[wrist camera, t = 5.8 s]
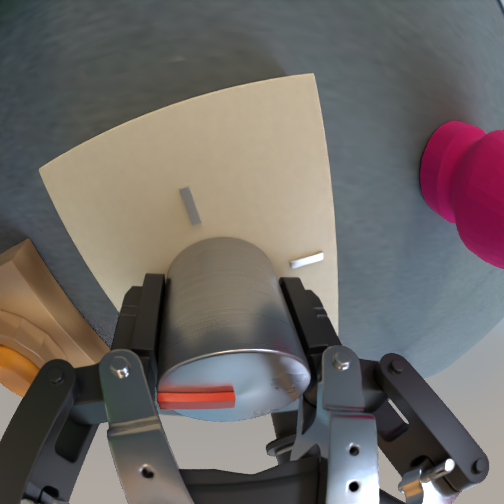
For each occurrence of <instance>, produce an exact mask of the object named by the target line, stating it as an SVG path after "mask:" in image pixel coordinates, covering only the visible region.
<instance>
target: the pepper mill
mask: <svg viewBox="0 0 504 504" xmlns="http://www.w3.org/2000/svg"><path fill="white" fill-rule="evenodd" d="M420 184H421V190H422V194H423V197H424V199H425V201H426V203H427V204H428V205H429V207H430V208H431V209H432V210H434V211H435V212H436V213H438V214H439V215H440V216H442V217H443V218H444V219H446V220H447V221H449V222H451V223H456V226H457V230H458V232H459V235H460V238H461V240H462V241H463V243H464V244H465V246H466V247H467V248H468V249H469V250H470V251H471V252H473V253H474V254H476V255H477V256H478V257H480V258H481V259H482V260H484V261H485V262H487V263H490V264H492V265H494V266H496V267H499V268H502V269H504V130H496V131H492V132H490V133H488V134H486V133H485V132H484V131H483V130H481V129H480V128H478V127H475V126H472V125H470V124H467V123H464V122H460V121H450V122H447V123H445V124H443V125H442V126H440V127H439V128H438V129H437V130H436V131H435V132H434V133H433V135H432V137H431V138H430V140H429V141H428V143H427V146H426V149H425V151H424V154H423V156H422V162H421V168H420Z"/></svg>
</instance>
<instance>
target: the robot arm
mask: <svg viewBox="0 0 504 504" xmlns="http://www.w3.org/2000/svg"><path fill="white" fill-rule="evenodd" d="M278 282H279V284H280V287H281V290H282V293H283V295H284V298H285V301H286V304H287V306H288V309H289V312H290V315H291V317H292V320H293V323H294V326H295V329H296V331H297V334H298V337H299V340H300V343H301V345H302V348H303V351H304V354H305V357H306V359H307V362H308V365H309V368H310V371H311V379H310V383H309V385H308V387H307V389H306V390H305V392H304V393H303V394H302V395H301V396H300V397H299V410H298V423H297V434H296V440H295V442H294V443H291V444H288V445H286V446H283V447H281V448H279V449H278V450H276V451H275V455H276V458H277V461H278V465H277V466H275V467H272V468H270V469H267V470H264V471H262V472H259V473H256V474H243V473H235V472H228V471H222V470H217V469H180V468H179V466H178V464H177V462H176V460H175V457H174V454H173V452H172V450H171V447H170V445H169V442H168V440H167V437H166V435H165V432H164V429H163V426H162V423H161V421H160V418H159V415H158V412H157V409H156V406H155V403H154V401H155V387H157V369H158V354H159V342H160V331H161V320H162V311H163V302H164V294H165V286H166V283H165V274H156V273H146V274H145V277H144V281H143V286H132V287H131V288H130V289H129V290H128V291H127V292H126V294H125V295H124V299H123V302H122V307H121V310H120V316H119V317H118V321H117V325H116V329H115V334H114V338H113V342H112V347H111V350H110V351H109V352H108V353H106V354H105V355H104V356H103V357H102V359H101V360H100V362H99V363H96V364H94V365H89V366H83V367H77V368H74V367H73V366H72V365H71V364H70V363H69V362H68V361H66V360H63V359H53V360H50V361H48V362H47V363H45V364H44V365H43V366H42V368H41V369H40V371H39V372H38V374H37V375H36V377H35V379H34V380H33V382H32V384H31V385H30V387H29V389H28V390H27V392H26V394H25V395H24V397H23V399H22V401H21V402H20V404H19V406H18V408H17V410H16V412H15V414H14V415H13V417H12V419H11V421H10V423H9V425H8V427H7V429H6V431H5V433H4V435H3V437H2V439H1V441H0V504H69V503H68V502H69V499H70V496H71V494H72V491H73V488H74V485H75V483H76V480H77V477H78V475H79V472H80V470H81V467H82V465H83V462H84V460H85V457H86V454H87V452H88V450H89V447H90V445H91V443H92V440H93V438H94V436H95V433H96V431H97V429H98V426H99V424H100V423H104V422H108V423H109V429H108V430H107V438H108V443H109V447H110V450H111V454H112V458H113V461H114V464H115V468H116V471H117V474H118V477H119V480H120V483H121V486H122V489H123V491H124V494H125V497H126V499H127V502H128V504H452V502H453V501H454V500H455V499H456V497H457V496H458V495H459V493H460V492H462V491H463V490H466V489H468V488H470V487H472V486H474V485H477V484H478V483H480V482H482V481H483V480H484V479H485V478H486V476H487V474H488V471H489V461H488V458H487V456H486V454H485V453H484V452H483V450H482V449H481V448H480V447H479V445H478V444H477V443H476V442H475V440H474V439H473V438H472V437H471V435H470V434H469V433H468V431H467V430H466V429H465V428H464V427H463V425H462V424H461V423H460V422H459V421H458V419H457V418H456V417H455V416H454V414H453V413H452V412H451V411H450V410H449V408H448V407H447V406H446V405H445V404H444V403H443V401H442V400H441V399H440V398H439V397H438V395H437V394H436V393H435V392H434V391H433V390H432V389H431V387H430V386H429V385H428V384H427V383H426V382H425V380H424V379H423V378H422V377H421V376H420V375H419V374H418V372H417V371H416V370H415V369H414V368H413V367H412V366H411V365H410V363H409V362H408V361H407V360H406V359H405V358H404V357H402V356H400V355H398V354H395V353H389V354H386V355H384V356H383V357H382V358H381V360H380V361H379V362H378V361H371V360H363V359H359V358H358V356H357V355H356V354H355V353H354V352H353V351H352V350H351V349H349V348H347V347H345V346H342V344H341V342H340V340H339V338H338V336H337V334H336V332H335V329H334V327H333V325H332V323H331V321H330V319H329V317H328V315H327V313H326V310H325V309H324V306H323V304H322V302H321V300H320V298H319V297H318V296H317V295H316V294H315V293H314V292H313V291H312V290H305V288H304V286H303V284H302V282H301V279H300V278H299V277H280V279H279V281H278ZM390 399H391V400H392V402H393V403H394V404H395V405H396V407H397V408H398V409H399V410H400V411H401V413H402V414H403V415H404V416H405V418H406V419H407V420H408V422H409V424H407V423H405V422H404V421H403V420H402V418H401V417H400V416H399V415H398V413H397V412H396V411H395V410H394V408H393V407H392V406H391V405H390V403H389V402H388V401H389V400H390ZM378 446H379V448H380V449H381V450H382V452H383V453H384V454H385V456H386V457H387V458H388V459H389V461H390V462H391V464H392V465H393V466H394V467H395V469H396V470H397V471H398V473H399V474H400V475H401V477H402V481H401V482H400V483H399V485H398V490H399V491H400V492H402V493H405V496H406V503H405V502H403V501H401V500H399V499H397V498H395V497H393V496H392V495H390V494H388V493H386V492H385V491H383V490H381V489H380V488H379V464H378Z"/></svg>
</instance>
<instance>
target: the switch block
mask: <svg viewBox="0 0 504 504" xmlns="http://www.w3.org/2000/svg"><path fill="white" fill-rule="evenodd" d="M0 344H2V345H4V346H7V347H9V348H12V349H15V350H16V351H18V352H19V353H21V354H22V355H24V356H25V357H27V358H29V359H30V360H31V361H32V362H33V363H35V364H36V365H37V366H38V367H39V368H40V369H41V368H42V366H43V365H44V364H45V363H47V362H48V361H50V360H53V359H63V360H66V361H68V362H69V363H70V364H71V365H72V366H73V367H74V368H77V367H83V366H89V365H94V364H96V363H99V362H100V360H101V359H102V357H103V356H104V355H105V354H106V353H108V352H109V351H110V350H111V349H110V348H109V347H108V346H107V345H106V344H105V342H104V341H103V340H102V339H101V338H100V337H99V336H98V334H97V333H96V332H95V331H94V330H93V329H92V327H91V326H90V325H89V324H88V323H87V321H86V320H85V319H84V318H83V316H82V315H81V314H80V313H79V311H78V310H77V309H76V307H75V306H74V305H73V304H72V302H71V301H70V300H69V298H68V297H67V295H66V294H65V293H64V291H63V290H62V289H61V287H60V286H59V284H58V283H57V281H56V280H55V278H54V277H53V276H52V274H51V273H50V271H49V269H48V268H47V266H46V265H45V263H44V262H43V260H42V259H41V257H40V255H39V254H38V252H37V250H36V249H35V247H34V245H33V244H32V242H31V240H30V238H28V239H26V240H24V241H22V242H20V243H19V244H17V245H15V246H13V247H12V248H10V249H8V250H6V251H5V252H3V253H1V254H0Z"/></svg>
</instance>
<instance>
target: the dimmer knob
mask: <svg viewBox="0 0 504 504" xmlns="http://www.w3.org/2000/svg"><path fill="white" fill-rule="evenodd" d="M310 379H311V371H310V368H309V365H308V362H307V359H306V357H305V354H304V351H303V348H302V345H301V343H300V340H299V337H298V334H297V331H296V329H295V326H294V323H293V320H292V317H291V315H290V312H289V309H288V306H287V304H286V301H285V298H284V295H283V293H282V290H281V287H280V284H279V282H278V279H277V276H276V274H275V271H274V268H273V266H272V263H271V261H270V260H269V258H268V257H267V256H266V254H265V253H264V252H263V251H261V250H260V249H259V248H258V247H256V246H255V245H253V244H251V243H249V242H246V241H243V240H240V239H236V238H229V237H216V238H210V239H205V240H202V241H199V242H197V243H194V244H192V245H191V246H189V247H187V248H186V249H184V250H183V251H182V252H181V253H180V254H179V255H178V256H177V257H176V258H175V259H174V260H173V262H172V263H171V265H170V267H169V270H168V273H167V279H166V286H165V294H164V302H163V311H162V320H161V331H160V342H159V354H158V369H157V388H156V390H157V401H158V404H159V406H160V409H171V410H173V411H175V412H177V413H179V414H181V415H184V416H187V417H190V418H194V419H199V420H206V421H220V422H223V421H240V420H246V419H251V418H256V417H260V416H263V415H266V414H269V413H272V412H275V411H277V410H279V409H281V408H283V407H285V406H287V405H289V404H290V403H292V402H293V401H295V400H296V399H297V398H299V397H300V396H301V395H302V394H303V393H304V392H305V390H306V389H307V387H308V385H309V383H310Z"/></svg>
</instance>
